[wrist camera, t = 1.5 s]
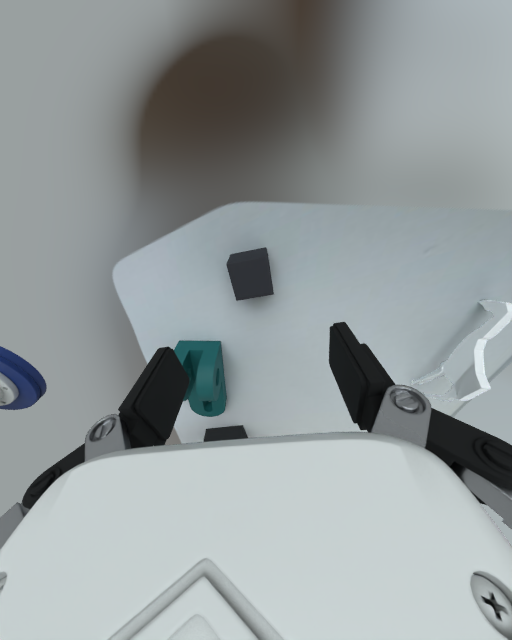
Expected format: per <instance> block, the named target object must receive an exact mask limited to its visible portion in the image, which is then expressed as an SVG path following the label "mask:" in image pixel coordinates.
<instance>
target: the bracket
mask: <svg viewBox="0 0 512 640" xmlns="http://www.w3.org/2000/svg"><path fill="white" fill-rule="evenodd" d="M174 352H175V354H176V355H177V357H178V359H179V361H180V363H181V364H182V366H183V368H184V370H185V371H186V373H187V375H188V377H189V380H190V382H189V386H188V388H187V391H186V394H185V396H184V399H183V401H186V400H187V399H188V400H189V403H190V407H191V409H192V410H193V411H194V412H195V413H197V414H199V415H202V416H207V417H213V416H218V415H220V414H222V413H223V412H224V411H225V406H226V399H227V396H226V386H225V377H224V368H223V359H222V350H221V341H179V342H178V344H177V346H176V347H175V349H174ZM209 401H211V402H209Z"/></svg>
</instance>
